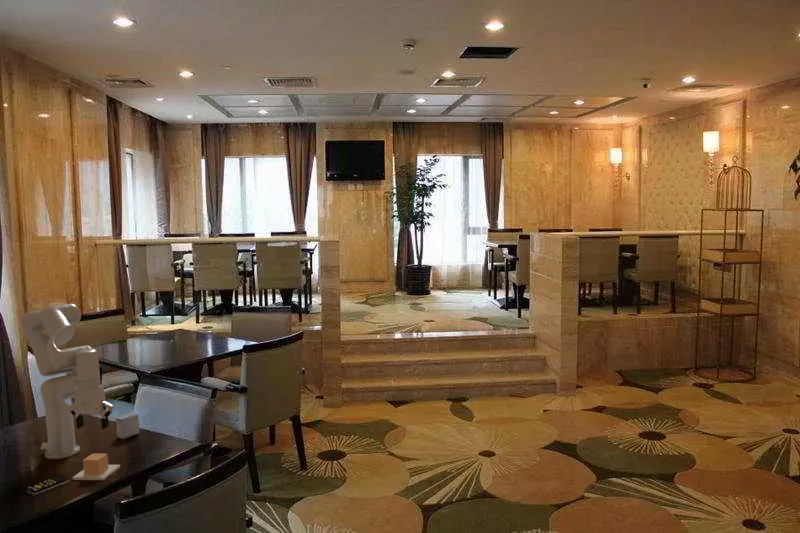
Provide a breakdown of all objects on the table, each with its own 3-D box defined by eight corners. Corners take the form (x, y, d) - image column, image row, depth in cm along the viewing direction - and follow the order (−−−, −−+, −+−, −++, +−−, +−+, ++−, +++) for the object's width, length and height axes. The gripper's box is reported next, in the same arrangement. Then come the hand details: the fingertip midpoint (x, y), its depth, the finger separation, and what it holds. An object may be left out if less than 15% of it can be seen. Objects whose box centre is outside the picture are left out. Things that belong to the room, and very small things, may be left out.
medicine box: (134, 431, 273) (132, 412, 273) (139, 433, 271) (138, 414, 270) (117, 437, 267) (115, 418, 266) (122, 439, 265) (121, 419, 264)
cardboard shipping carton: (84, 474, 228) (82, 460, 227) (93, 467, 234) (92, 453, 233) (99, 474, 227) (98, 460, 226) (108, 467, 233) (107, 453, 232)
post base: (72, 479, 226) (71, 466, 225) (90, 467, 237) (89, 454, 236) (103, 480, 224) (102, 466, 224) (120, 467, 235) (119, 454, 235)
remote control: (70, 482, 224) (70, 477, 224) (34, 497, 214) (34, 491, 213) (61, 479, 228) (60, 473, 227) (25, 493, 217) (24, 487, 217)
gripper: (60, 385, 224) (64, 431, 226) (105, 386, 222) (109, 431, 224) (73, 379, 232) (77, 423, 233) (116, 380, 230) (120, 424, 232)
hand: (92, 427), depth 229 cm, fingers open, 9 cm apart
